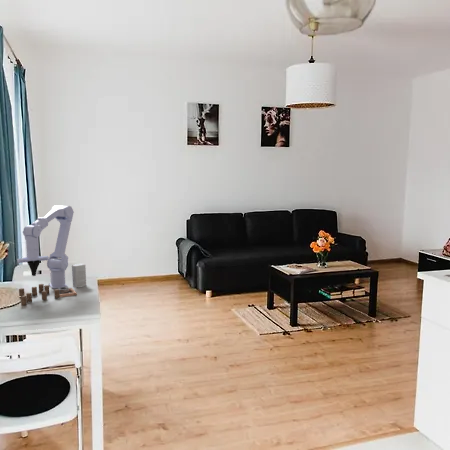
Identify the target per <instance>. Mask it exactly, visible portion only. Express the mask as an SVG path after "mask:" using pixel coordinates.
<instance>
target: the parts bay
mask: <svg viewBox="0 0 450 450" xmlns="http://www.w3.org/2000/svg"><path fill="white" fill-rule="evenodd" d="M68 288H69V293H66V294H60V298H65V297H72V296H73V297H74V296H77V294H78V293H77V292H76V291H75V290H74V288H72V287H68Z"/></svg>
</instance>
